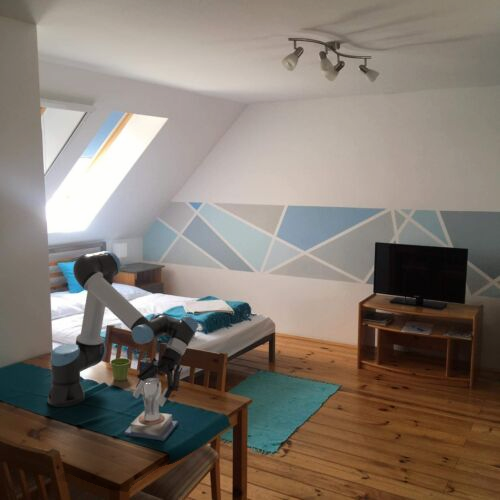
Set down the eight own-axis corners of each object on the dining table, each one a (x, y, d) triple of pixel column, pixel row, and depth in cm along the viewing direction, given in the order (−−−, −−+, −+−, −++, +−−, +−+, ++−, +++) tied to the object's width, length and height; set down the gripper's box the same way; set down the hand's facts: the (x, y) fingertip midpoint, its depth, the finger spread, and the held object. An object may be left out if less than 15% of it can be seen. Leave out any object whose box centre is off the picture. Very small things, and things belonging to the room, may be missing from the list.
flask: (158, 379, 261) (158, 358, 260) (155, 381, 258) (155, 360, 257) (141, 377, 264) (140, 356, 262) (138, 379, 261) (137, 358, 259)
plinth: (130, 431, 206) (130, 423, 206) (143, 417, 218) (143, 410, 217) (160, 435, 203) (160, 427, 203) (172, 421, 215) (172, 414, 215)
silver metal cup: (156, 423, 206) (157, 384, 204) (139, 421, 208) (139, 383, 206) (163, 415, 213) (163, 378, 211) (146, 413, 214) (147, 376, 213)
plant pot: (134, 378, 262) (134, 360, 261) (120, 384, 255) (120, 366, 253) (120, 373, 267) (120, 356, 266) (106, 379, 260) (106, 362, 258)
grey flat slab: (124, 435, 206) (124, 432, 206) (140, 419, 219) (140, 416, 219) (164, 440, 202) (164, 437, 202) (177, 424, 216) (177, 421, 216)
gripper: (202, 362, 213) (176, 413, 203) (155, 350, 227) (129, 397, 216) (193, 353, 208) (166, 404, 198) (146, 341, 221) (119, 388, 211)
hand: (147, 401), depth 207 cm, fingers open, 12 cm apart
